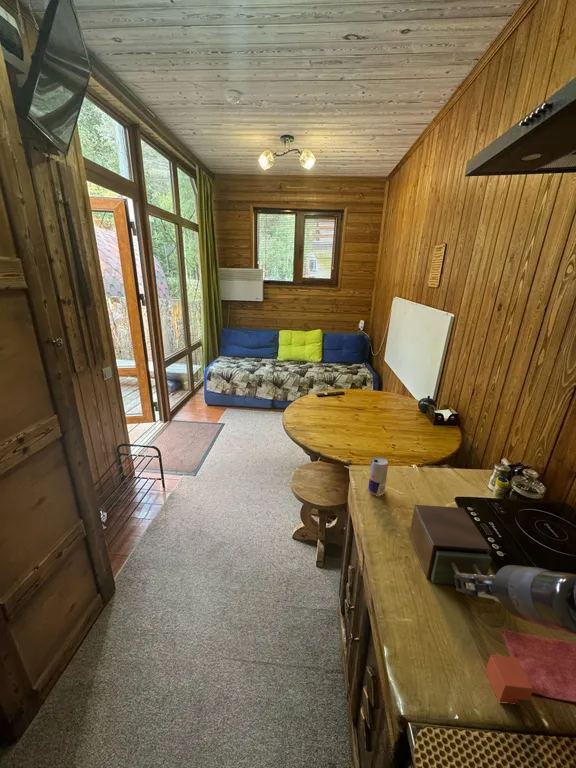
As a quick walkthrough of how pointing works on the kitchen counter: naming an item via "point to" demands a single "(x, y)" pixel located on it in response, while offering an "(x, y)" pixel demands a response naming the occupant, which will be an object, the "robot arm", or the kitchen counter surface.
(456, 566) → the drawer
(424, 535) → the cabinet
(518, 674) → the block
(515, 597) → the robot arm
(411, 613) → the kitchen counter surface
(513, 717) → the kitchen counter surface
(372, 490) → the energy drink
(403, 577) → the kitchen counter surface
